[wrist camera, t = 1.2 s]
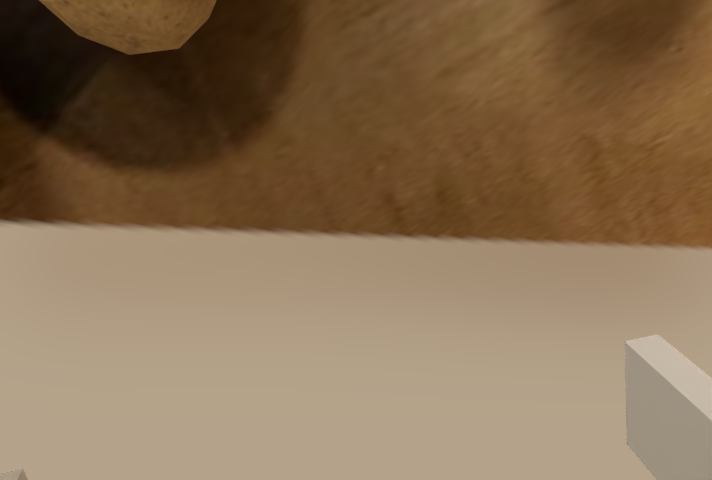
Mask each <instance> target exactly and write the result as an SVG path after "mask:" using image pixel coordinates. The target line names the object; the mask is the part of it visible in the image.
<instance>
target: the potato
mask: <svg viewBox="0 0 712 480" xmlns="http://www.w3.org/2000/svg"><path fill="white" fill-rule="evenodd" d="M39 1H40V2H41V3H42V4H44V5H45V6H46V7H47V8H48V9H49V10H50V11H52V12H53V13H54V14H55V15H56V16H57V17H58V18H59V19H61V20H62V21H63V22H64V23H65V24H66V25H67V26H68V27H70V28H71V29H72V30H73V31H74V32H75V33H76V34H78V35H79V36H82V37H85V38H87V39H90V40H92V41H95V42H97V43H100V44H102V45H105V46H108V47H110V48H113V49H115V50H118V51H120V52H123V53H126V54H128V55H134V54H141V53H149V52H157V51H164V50H172V49H179V48H180V47H181V46H182V45H183V44H184V43H185V42H186V41H187V40H188V39H189V38H190V37H191V36H192V35H193V34H194V33H195V32H196V31H197V30H198V29H199V28H200V27H201V26H202V25H203V24H204V23H205V22H206V21H207V20H208V19H209V17H210V15H211V13H212V10H213V8H214V5H215V3H216V1H217V0H39Z"/></svg>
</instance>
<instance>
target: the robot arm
mask: <svg viewBox="0 0 712 480" xmlns="http://www.w3.org/2000/svg"><path fill="white" fill-rule="evenodd" d="M625 380H626V381H625V382H626V422H627V423H626V424H627V445H628V446H629V447H630V448H631V449H632V451H633V452H634V453H635V454H636V455H637V457H638V458H639V459H640V460H641V461H642V463H643V464H644V465H645V466H646V467H647V469H648V470H649V471H650V472H651V473H652V475H653V476H654V477H655V478H656V479H657V480H712V378H711V377H709V376H708V375H707V374H706V373H704V372H703V371H702V370H701V369H699V368H698V367H697V366H696V365H695V364H693V363H692V362H691V361H690V360H689V359H687V358H686V357H685V356H684V355H682V354H681V353H680V352H679V351H677V350H676V349H675V348H674V347H672V346H671V345H670V344H669V343H668V342H666V341H665V340H664V339H663V338H661V337H660V336H659V335H653V336H649V337H644V338H639V339H634V340H629V341H625ZM0 480H27V477H26V475H25V473H24V470H23V469H21V470H16V471H11V472H7V473H2V474H0Z"/></svg>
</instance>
